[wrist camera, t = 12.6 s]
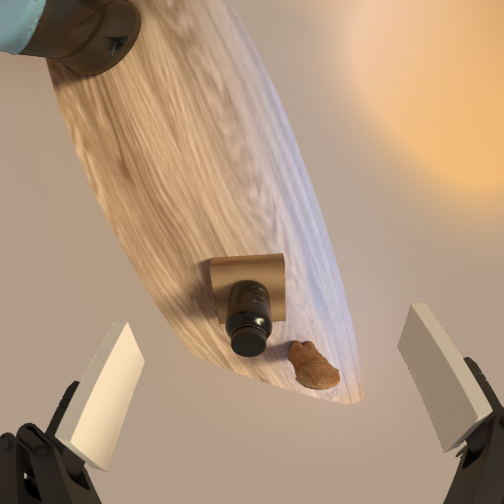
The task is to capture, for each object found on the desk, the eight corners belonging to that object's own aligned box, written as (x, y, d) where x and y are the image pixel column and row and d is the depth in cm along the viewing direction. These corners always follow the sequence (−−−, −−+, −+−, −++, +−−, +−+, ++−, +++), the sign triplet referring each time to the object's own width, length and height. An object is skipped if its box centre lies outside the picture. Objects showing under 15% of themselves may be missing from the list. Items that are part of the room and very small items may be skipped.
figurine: (286, 355, 57) (291, 412, 43) (290, 327, 53) (298, 387, 40) (323, 354, 57) (336, 409, 43) (331, 327, 53) (348, 384, 40)
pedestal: (211, 257, 47) (208, 266, 44) (283, 253, 46) (284, 262, 44) (220, 313, 52) (219, 324, 49) (284, 310, 52) (285, 320, 49)
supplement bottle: (251, 317, 49) (250, 369, 38) (221, 296, 47) (211, 346, 36) (278, 294, 46) (284, 344, 35) (247, 270, 44) (244, 318, 34)
